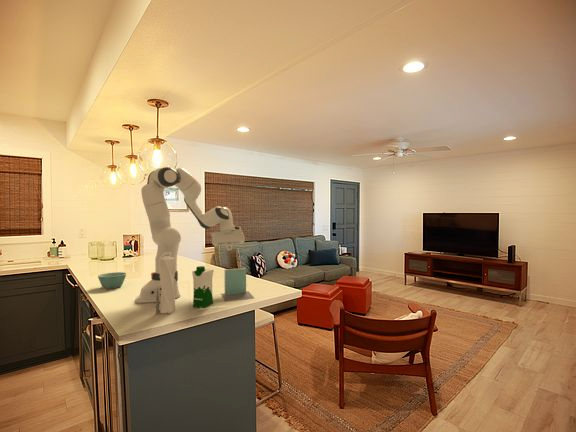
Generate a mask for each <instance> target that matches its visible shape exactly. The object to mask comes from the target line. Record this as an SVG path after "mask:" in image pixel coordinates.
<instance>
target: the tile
mask: <svg viewBox="0 0 576 432" xmlns="http://www.w3.org/2000/svg"><path fill="white" fill-rule="evenodd" d="M223 270H224V293H225V295H229V294H240V293H246V291H247V268H246V267H241V268H225V269H223Z"/></svg>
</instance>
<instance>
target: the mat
mask: <svg viewBox="0 0 576 432" xmlns="http://www.w3.org/2000/svg"><path fill="white" fill-rule="evenodd" d="M220 295H221V297H222V298H223V301H224V302H233V301H236V302H237V301H243V300H245V301H246V300H251V299H256V298H255V296H253V295H252V293H251V292H250V291H249V290H246V293H240V294H229V295H225V292H224V293H220Z"/></svg>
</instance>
